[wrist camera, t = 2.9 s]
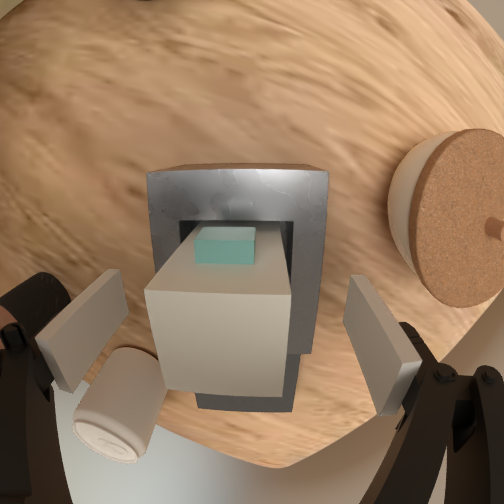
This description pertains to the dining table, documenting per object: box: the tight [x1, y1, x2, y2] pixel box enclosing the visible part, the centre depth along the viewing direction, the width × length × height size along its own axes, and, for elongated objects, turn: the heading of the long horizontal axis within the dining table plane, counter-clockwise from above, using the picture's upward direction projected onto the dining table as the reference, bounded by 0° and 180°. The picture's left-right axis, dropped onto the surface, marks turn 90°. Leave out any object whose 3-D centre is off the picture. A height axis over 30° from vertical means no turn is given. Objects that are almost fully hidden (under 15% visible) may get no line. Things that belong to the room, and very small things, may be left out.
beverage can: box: [72, 347, 168, 464], centre depth 25 cm, size 8×8×12 cm
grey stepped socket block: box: [146, 163, 329, 412], centre depth 22 cm, size 10×24×8 cm, turn 0°
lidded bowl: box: [388, 129, 504, 308], centre depth 17 cm, size 13×13×11 cm
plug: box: [144, 220, 291, 397], centre depth 15 cm, size 5×6×11 cm
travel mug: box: [0, 272, 71, 349], centre depth 18 cm, size 8×8×20 cm
